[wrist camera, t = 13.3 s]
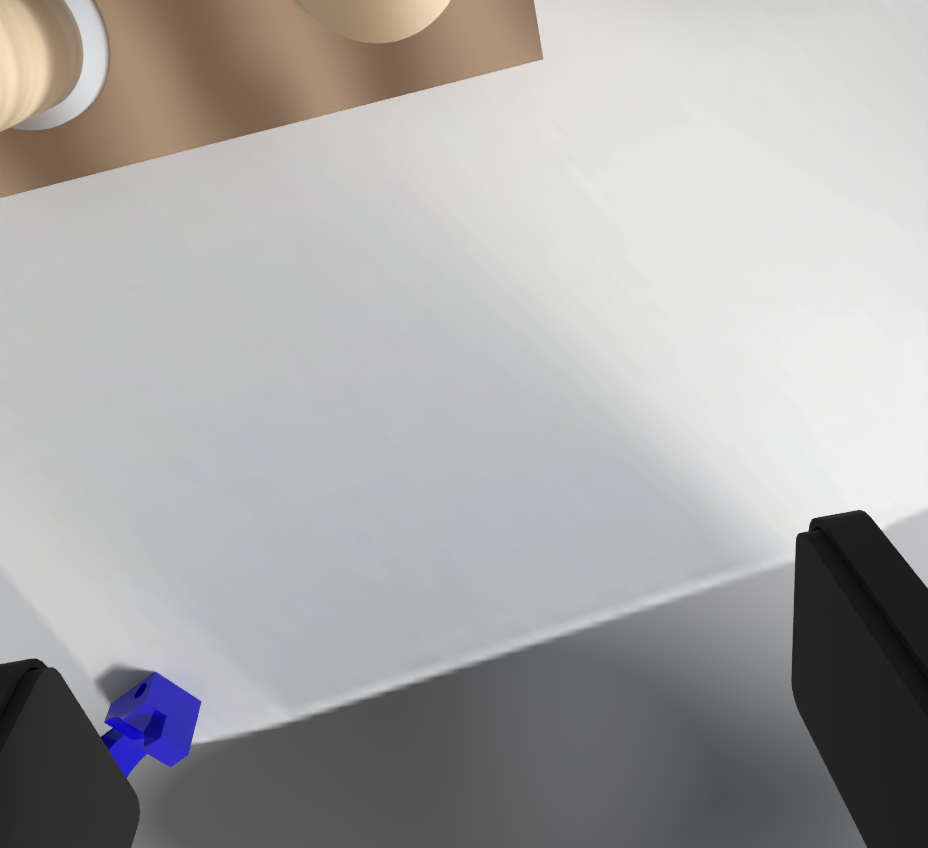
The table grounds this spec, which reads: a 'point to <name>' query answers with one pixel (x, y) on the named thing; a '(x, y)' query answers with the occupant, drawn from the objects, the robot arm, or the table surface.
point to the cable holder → (151, 723)
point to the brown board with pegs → (221, 70)
